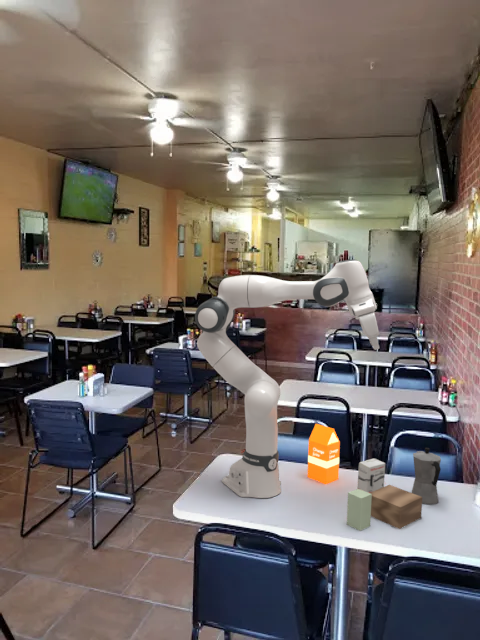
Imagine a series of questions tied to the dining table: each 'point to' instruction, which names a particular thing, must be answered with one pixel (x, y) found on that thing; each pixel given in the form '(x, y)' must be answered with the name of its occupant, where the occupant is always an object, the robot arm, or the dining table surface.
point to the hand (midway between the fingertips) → (375, 346)
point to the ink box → (371, 475)
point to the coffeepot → (426, 476)
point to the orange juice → (323, 455)
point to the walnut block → (395, 506)
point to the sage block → (359, 509)
